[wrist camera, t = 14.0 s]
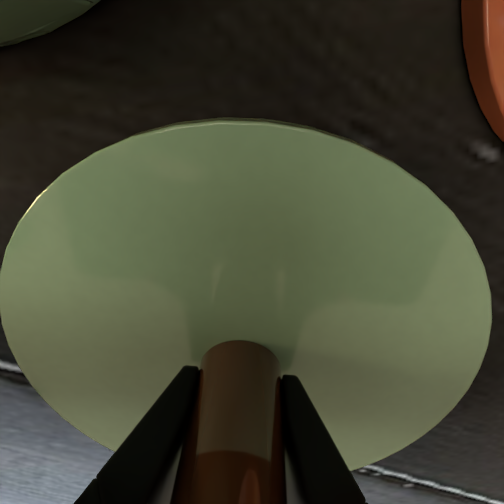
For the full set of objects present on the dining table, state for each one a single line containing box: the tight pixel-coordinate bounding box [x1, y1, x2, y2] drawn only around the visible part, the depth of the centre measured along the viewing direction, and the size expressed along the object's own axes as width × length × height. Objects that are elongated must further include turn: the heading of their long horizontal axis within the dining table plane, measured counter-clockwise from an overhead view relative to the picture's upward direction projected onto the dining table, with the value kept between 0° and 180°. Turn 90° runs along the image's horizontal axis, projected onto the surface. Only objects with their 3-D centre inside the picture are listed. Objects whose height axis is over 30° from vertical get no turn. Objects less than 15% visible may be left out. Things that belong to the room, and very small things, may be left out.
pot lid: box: [0, 117, 492, 504], centre depth 8 cm, size 14×14×6 cm
